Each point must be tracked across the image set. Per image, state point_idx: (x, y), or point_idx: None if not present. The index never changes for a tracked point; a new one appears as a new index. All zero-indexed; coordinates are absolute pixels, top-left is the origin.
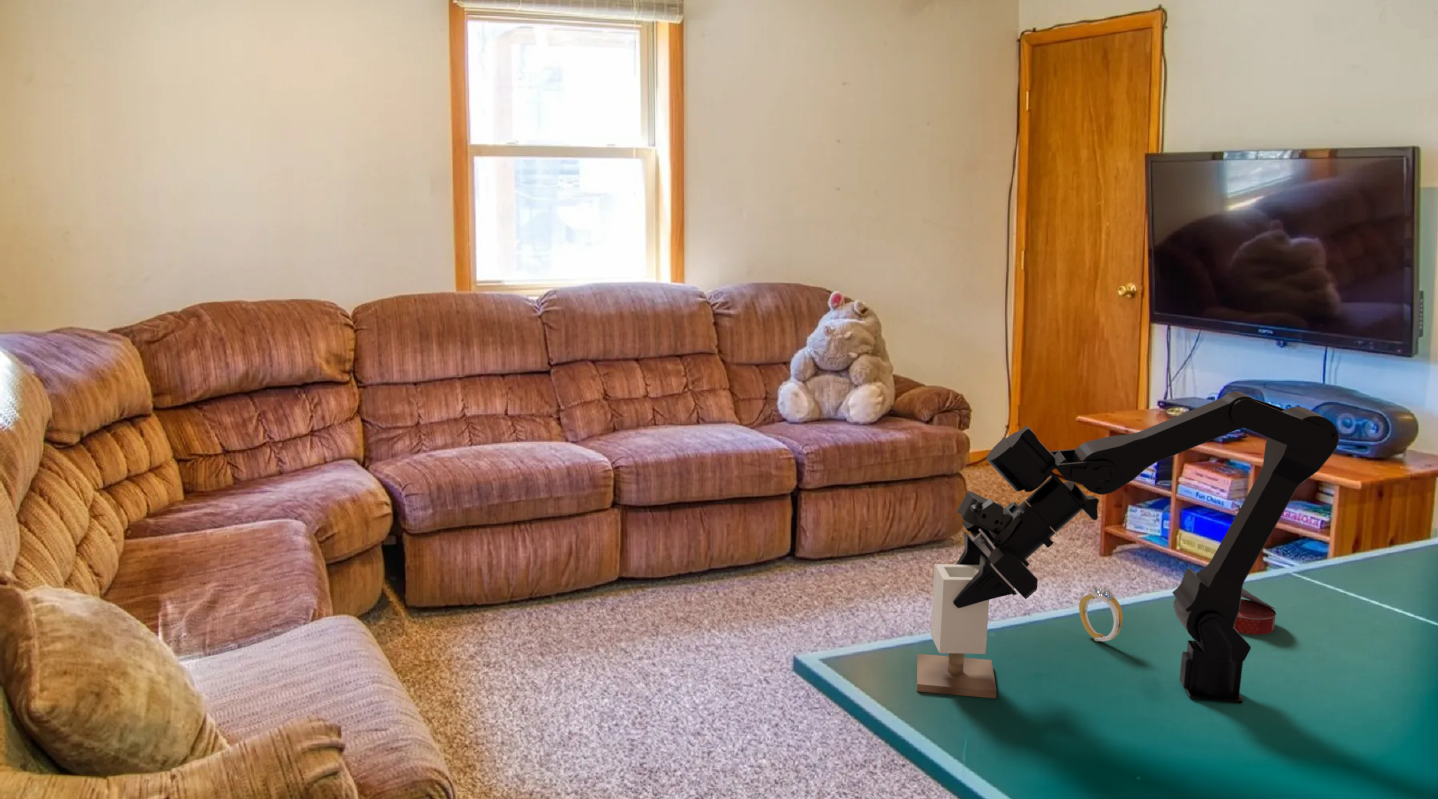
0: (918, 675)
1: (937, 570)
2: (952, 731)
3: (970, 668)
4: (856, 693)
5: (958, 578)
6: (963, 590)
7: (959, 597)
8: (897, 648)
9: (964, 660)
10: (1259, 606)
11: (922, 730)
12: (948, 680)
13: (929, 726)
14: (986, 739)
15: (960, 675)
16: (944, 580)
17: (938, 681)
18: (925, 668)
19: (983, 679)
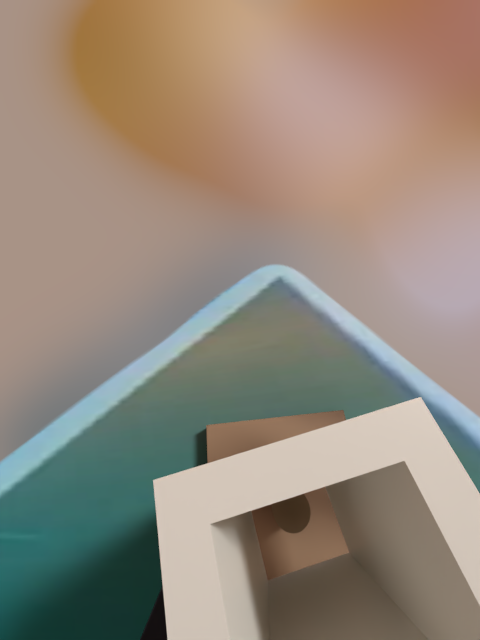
0: (244, 423)
1: (333, 424)
2: (64, 507)
3: (317, 539)
4: (182, 339)
5: (191, 606)
6: (164, 624)
7: None
8: (377, 372)
9: None
10: None
11: (69, 451)
12: None
13: (83, 461)
14: (31, 585)
15: (270, 514)
16: (158, 486)
17: None
18: (279, 433)
19: (268, 579)
